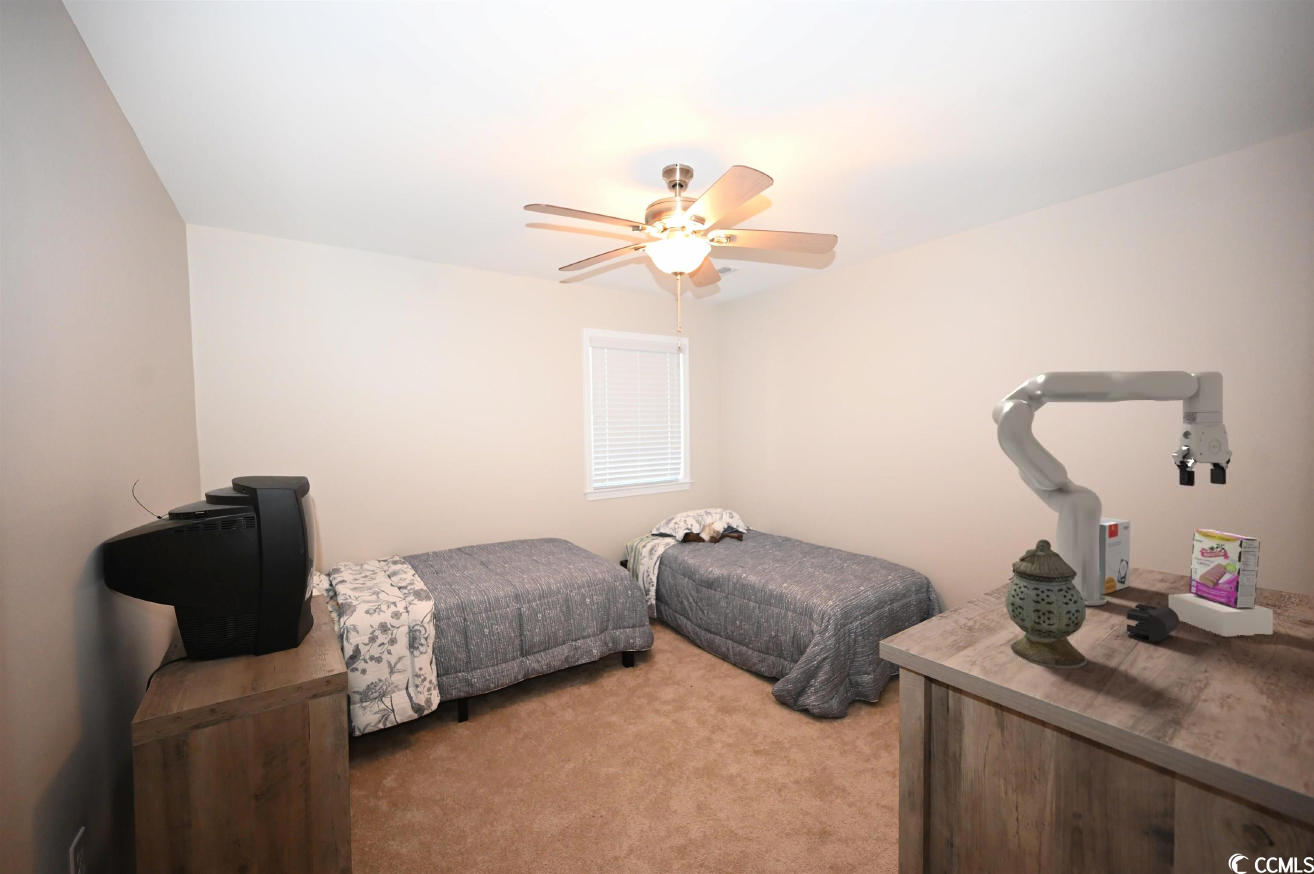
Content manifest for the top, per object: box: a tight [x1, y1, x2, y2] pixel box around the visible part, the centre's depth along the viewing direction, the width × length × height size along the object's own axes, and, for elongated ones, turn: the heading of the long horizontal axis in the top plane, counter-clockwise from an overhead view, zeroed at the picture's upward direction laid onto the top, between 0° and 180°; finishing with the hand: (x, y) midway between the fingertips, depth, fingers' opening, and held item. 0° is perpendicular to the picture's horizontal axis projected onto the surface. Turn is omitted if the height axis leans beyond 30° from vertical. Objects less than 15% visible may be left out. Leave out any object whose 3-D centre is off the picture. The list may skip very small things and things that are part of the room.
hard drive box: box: [1099, 516, 1131, 595], centre depth 165 cm, size 16×8×20 cm, turn 119°
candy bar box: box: [1188, 528, 1261, 608], centre depth 134 cm, size 11×5×16 cm, turn 4°
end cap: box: [1126, 603, 1180, 644], centre depth 129 cm, size 10×7×7 cm
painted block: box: [1168, 593, 1274, 637], centre depth 135 cm, size 12×13×6 cm
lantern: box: [1005, 539, 1088, 670], centre depth 121 cm, size 14×14×25 cm
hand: (1202, 484), depth 146 cm, fingers open, 9 cm apart
